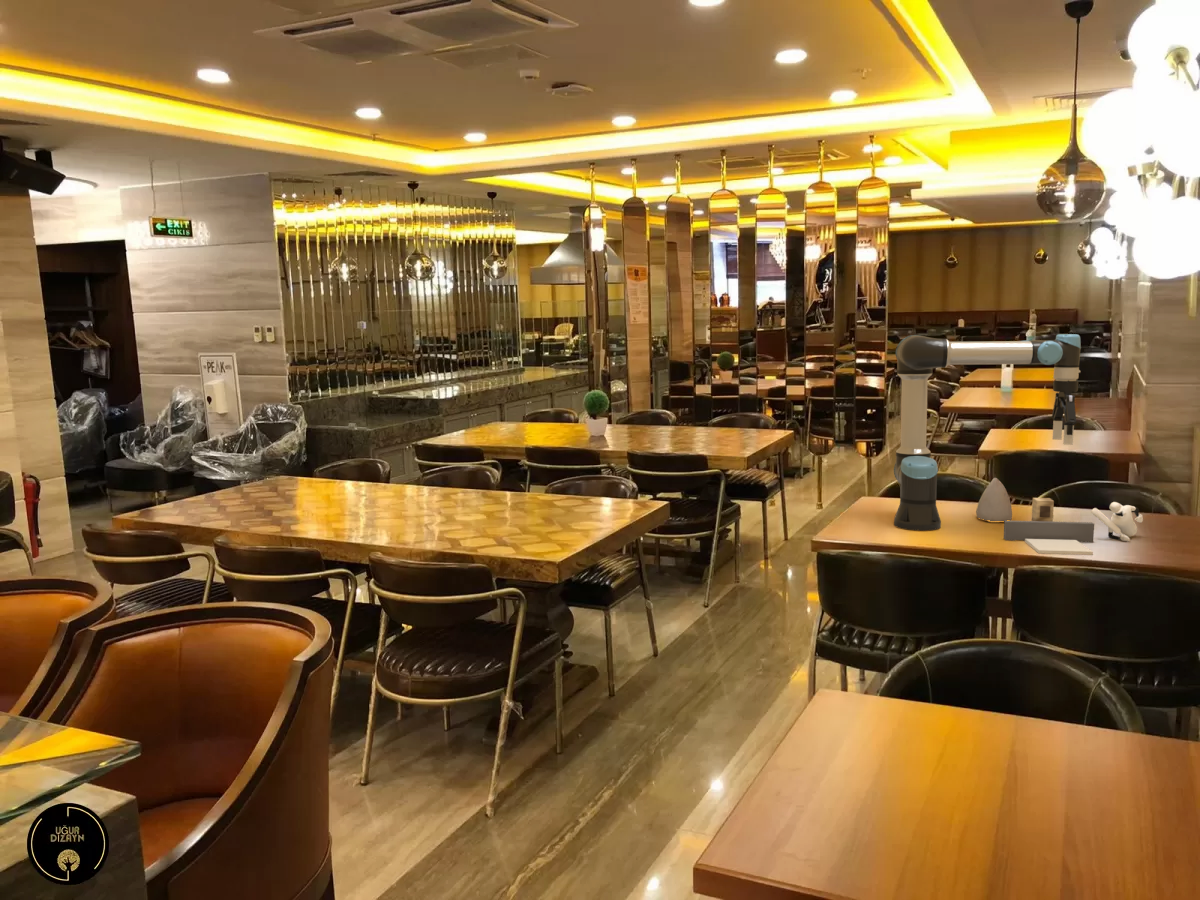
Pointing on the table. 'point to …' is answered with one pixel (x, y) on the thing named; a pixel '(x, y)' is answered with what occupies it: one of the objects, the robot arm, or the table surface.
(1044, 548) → the mat
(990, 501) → the sculpture
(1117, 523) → the cricket player figurine
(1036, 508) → the letter block
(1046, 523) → the grey plank
